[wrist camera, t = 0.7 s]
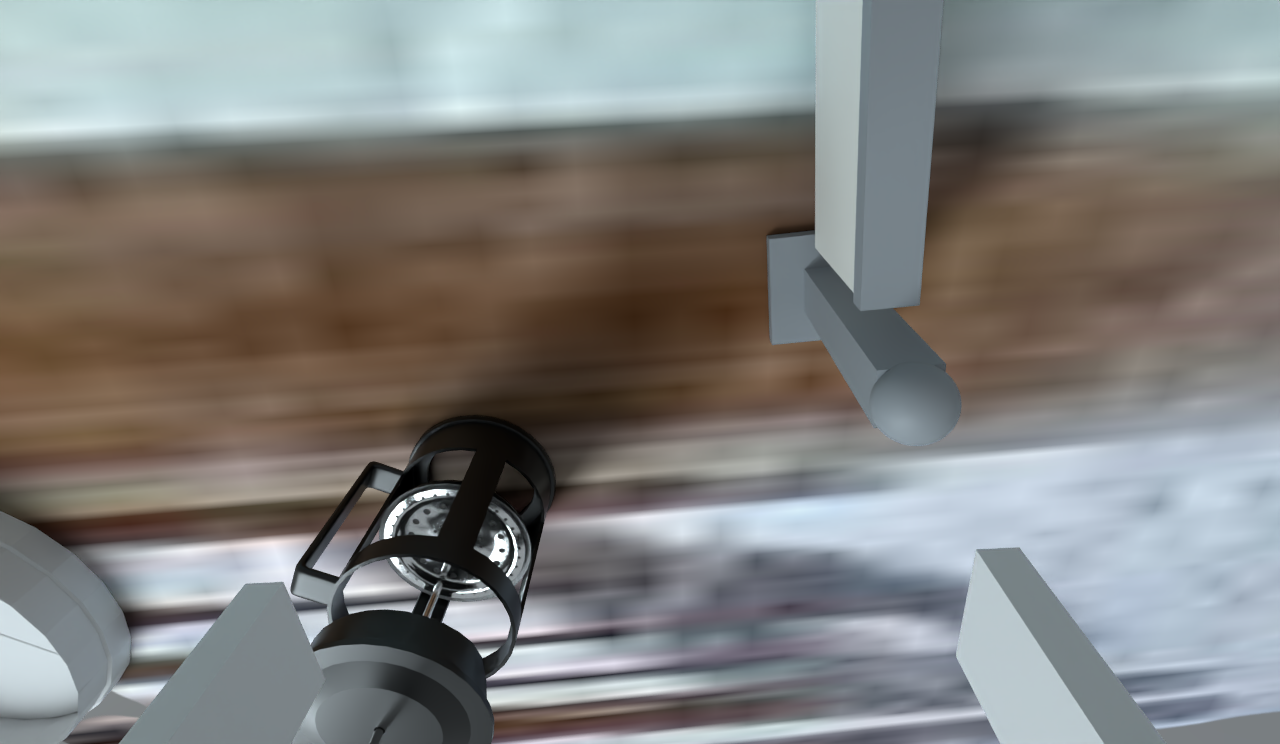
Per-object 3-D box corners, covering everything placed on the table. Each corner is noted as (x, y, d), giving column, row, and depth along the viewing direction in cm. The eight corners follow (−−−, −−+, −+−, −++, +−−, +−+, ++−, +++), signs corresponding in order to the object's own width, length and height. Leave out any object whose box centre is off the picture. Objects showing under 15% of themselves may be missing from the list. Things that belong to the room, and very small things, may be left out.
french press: (587, 450, 40) (514, 870, 19) (537, 555, 44) (432, 998, 23) (404, 382, 38) (105, 767, 17) (369, 498, 42) (92, 925, 21)
